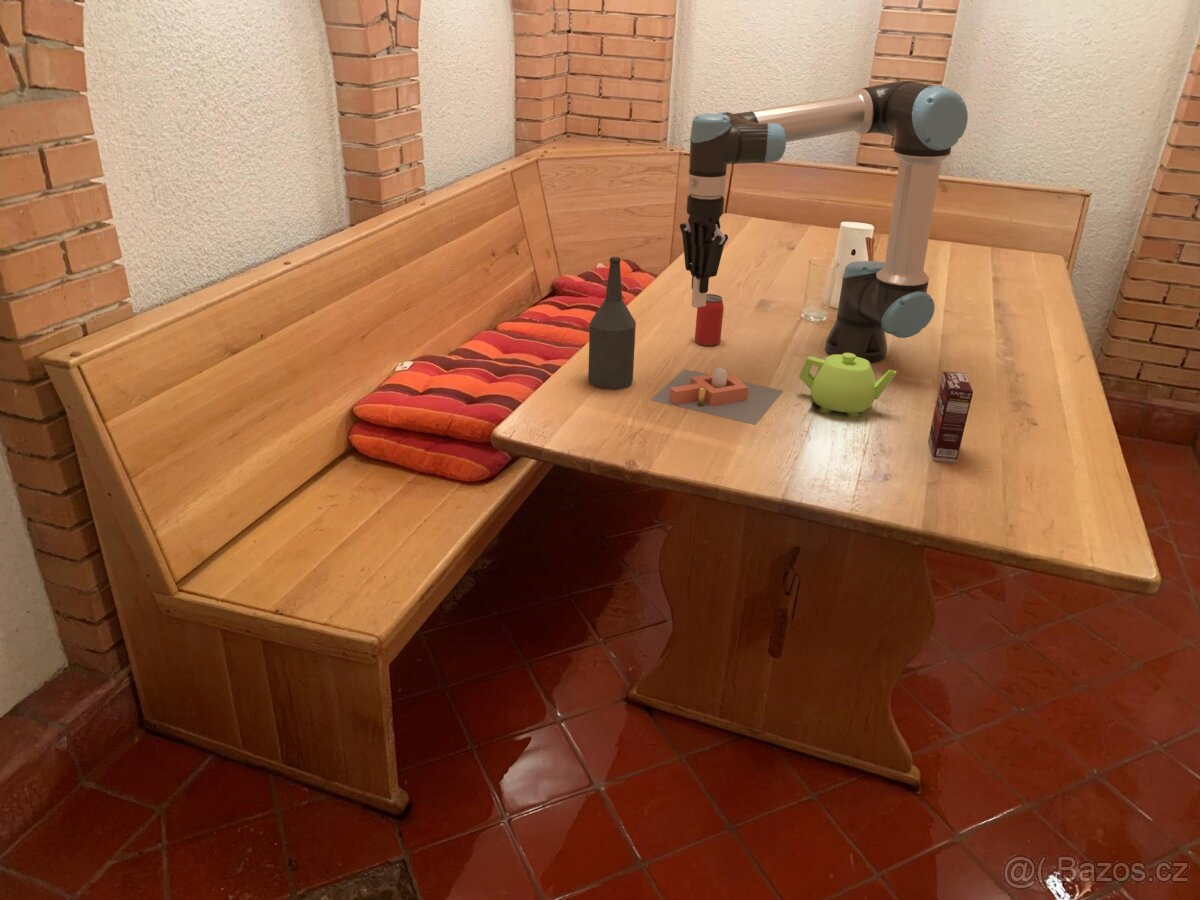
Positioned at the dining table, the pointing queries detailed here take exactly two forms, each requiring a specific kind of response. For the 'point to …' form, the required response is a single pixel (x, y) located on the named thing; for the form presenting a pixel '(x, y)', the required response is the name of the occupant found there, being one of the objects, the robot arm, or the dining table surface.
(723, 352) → the dining table surface
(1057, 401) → the dining table surface
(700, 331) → the beer can
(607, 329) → the bottle
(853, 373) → the teapot
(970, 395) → the supplement box
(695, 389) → the square nut
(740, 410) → the board
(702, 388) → the gold metal capsule
